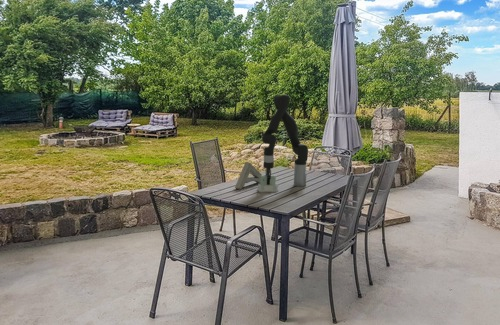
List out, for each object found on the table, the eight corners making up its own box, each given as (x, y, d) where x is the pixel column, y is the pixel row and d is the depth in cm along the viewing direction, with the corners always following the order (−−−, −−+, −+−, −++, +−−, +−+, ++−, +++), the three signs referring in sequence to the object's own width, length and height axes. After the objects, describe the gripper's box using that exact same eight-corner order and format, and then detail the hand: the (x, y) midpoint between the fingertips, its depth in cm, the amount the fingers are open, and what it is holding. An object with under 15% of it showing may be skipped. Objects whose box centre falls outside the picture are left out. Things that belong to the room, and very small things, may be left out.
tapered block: (274, 186, 285) (275, 175, 284) (275, 187, 282) (275, 176, 281) (260, 186, 284) (260, 175, 283) (260, 187, 281) (261, 176, 280)
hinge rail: (276, 189, 289) (276, 182, 288) (278, 191, 281) (278, 185, 280) (258, 189, 287) (258, 182, 287) (259, 191, 280) (259, 185, 279)
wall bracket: (257, 204, 307) (239, 188, 284) (253, 203, 309) (234, 187, 287) (266, 179, 314) (249, 162, 292) (262, 179, 317) (245, 162, 294)
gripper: (275, 162, 274) (274, 186, 277) (272, 159, 288) (271, 182, 291) (264, 162, 273) (264, 186, 276) (262, 159, 287) (261, 182, 290)
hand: (267, 184), depth 283 cm, fingers closed on tapered block, 2 cm apart
